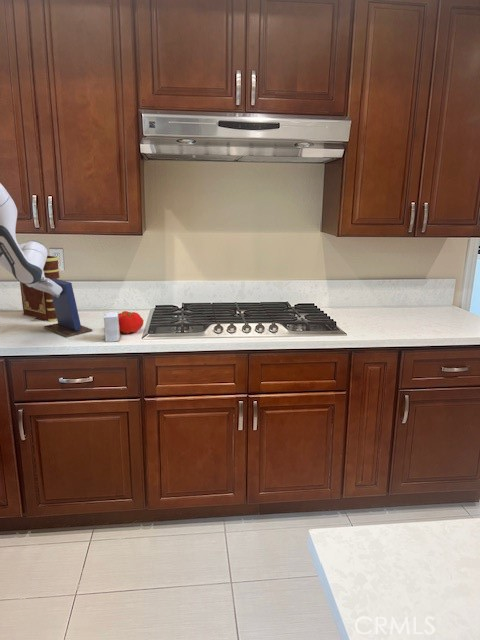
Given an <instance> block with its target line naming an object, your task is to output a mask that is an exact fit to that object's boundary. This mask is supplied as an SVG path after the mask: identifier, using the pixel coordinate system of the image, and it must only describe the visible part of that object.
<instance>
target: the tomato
mask: <svg viewBox="0 0 480 640" xmlns="http://www.w3.org/2000/svg"><path fill="white" fill-rule="evenodd" d="M118 313H119V332H120V333H123V334H129V333H137V332H138V331H139V330H141V329H142V327H144V319H143V317H141V314H139V312H134V311H127V310H123V311H121V312H118Z"/></svg>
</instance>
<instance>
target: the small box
mask: <svg viewBox="0 0 480 640" xmlns="http://www.w3.org/2000/svg"><path fill="white" fill-rule="evenodd" d="M119 313H120V312H105V313H104V316H103V325H104V327H103V328H104V338H105V339H104V341H105V342H106V343H109V342H120V338H121V334H120V333H121V331H119Z"/></svg>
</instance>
